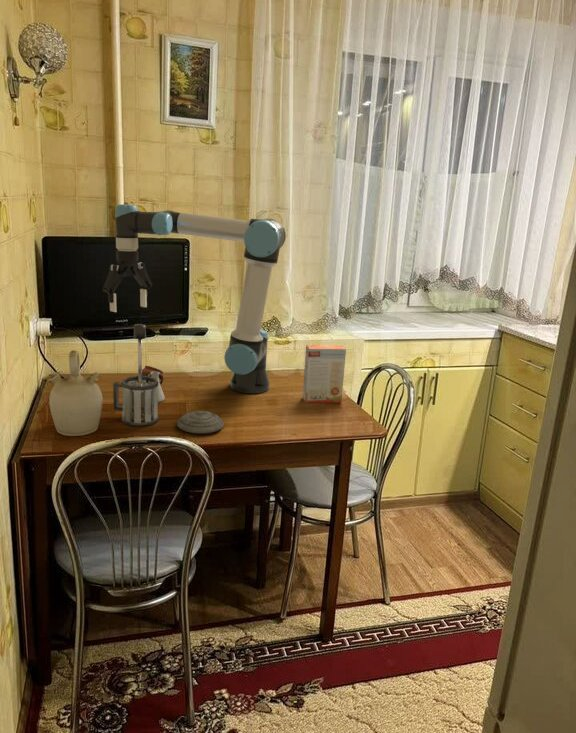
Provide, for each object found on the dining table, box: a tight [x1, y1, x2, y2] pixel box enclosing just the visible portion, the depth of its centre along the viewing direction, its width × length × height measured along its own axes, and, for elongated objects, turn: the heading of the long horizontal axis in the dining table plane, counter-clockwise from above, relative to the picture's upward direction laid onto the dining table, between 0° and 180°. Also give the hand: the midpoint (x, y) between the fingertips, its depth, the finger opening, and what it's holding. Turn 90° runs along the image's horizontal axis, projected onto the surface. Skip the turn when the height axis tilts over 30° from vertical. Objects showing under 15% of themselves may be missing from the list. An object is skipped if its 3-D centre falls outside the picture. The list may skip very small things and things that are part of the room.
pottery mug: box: [136, 365, 164, 384], centre depth 229 cm, size 12×10×8 cm
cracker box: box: [302, 344, 347, 404], centre depth 223 cm, size 14×6×21 cm, turn 99°
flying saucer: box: [176, 410, 225, 435], centre depth 193 cm, size 15×15×6 cm
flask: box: [149, 372, 166, 403], centre depth 213 cm, size 7×7×10 cm
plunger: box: [128, 323, 152, 393], centre depth 190 cm, size 8×8×21 cm
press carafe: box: [112, 375, 159, 428], centre depth 195 cm, size 15×12×13 cm
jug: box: [48, 350, 104, 437], centre depth 182 cm, size 15×16×25 cm
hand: (128, 309), depth 219 cm, fingers open, 13 cm apart
